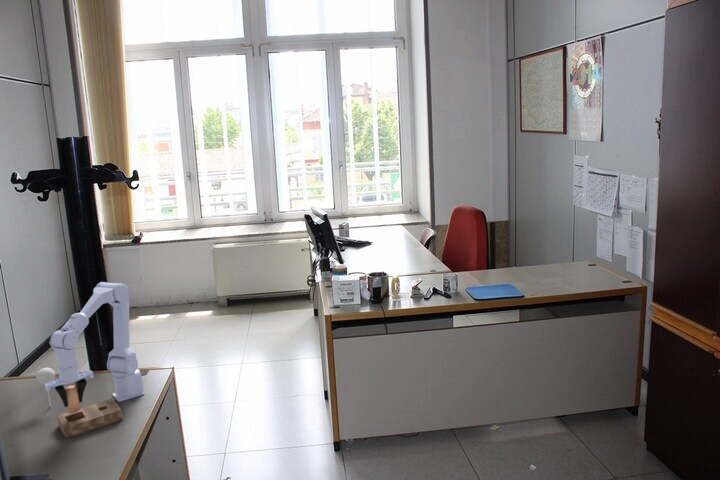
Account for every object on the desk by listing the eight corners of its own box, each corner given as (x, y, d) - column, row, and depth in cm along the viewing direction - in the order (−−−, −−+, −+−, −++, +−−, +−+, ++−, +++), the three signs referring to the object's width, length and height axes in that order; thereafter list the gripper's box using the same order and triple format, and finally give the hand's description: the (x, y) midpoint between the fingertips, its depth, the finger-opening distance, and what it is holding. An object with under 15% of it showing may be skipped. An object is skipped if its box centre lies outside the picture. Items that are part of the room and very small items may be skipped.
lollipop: (51, 411, 214) (45, 372, 211) (37, 410, 216) (31, 371, 212) (63, 403, 220) (57, 365, 217) (49, 402, 222) (43, 364, 218)
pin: (78, 406, 204) (75, 384, 202) (82, 410, 201) (78, 387, 199) (66, 410, 201) (62, 387, 200) (69, 414, 198) (65, 391, 197)
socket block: (113, 408, 215) (111, 398, 214) (122, 420, 206) (121, 409, 205) (58, 426, 204) (56, 415, 203) (66, 439, 195) (64, 427, 194)
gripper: (86, 355, 205) (91, 392, 208) (40, 368, 196) (46, 406, 199) (93, 361, 200) (98, 399, 203) (45, 375, 191) (52, 414, 194)
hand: (73, 403), depth 200 cm, fingers closed on pin, 4 cm apart
